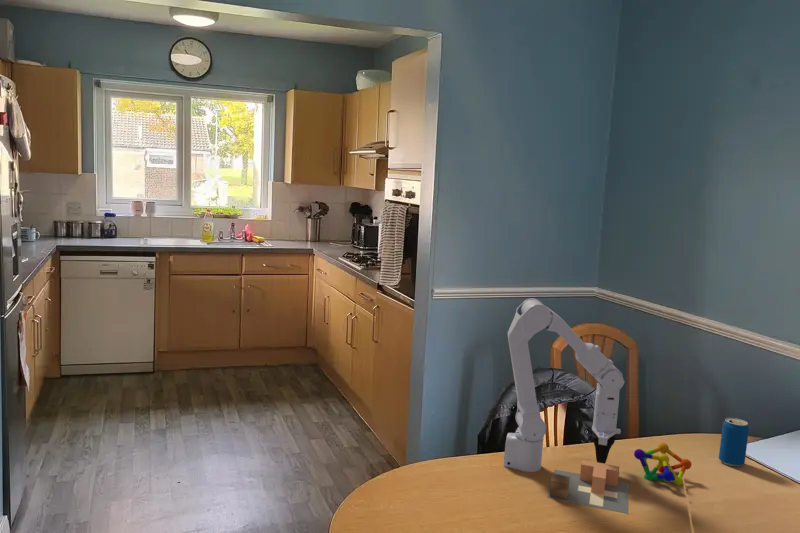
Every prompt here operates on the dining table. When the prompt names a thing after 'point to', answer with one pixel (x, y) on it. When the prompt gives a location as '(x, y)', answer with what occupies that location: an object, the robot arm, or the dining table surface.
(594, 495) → the board
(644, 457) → the decorative model
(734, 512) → the dining table surface
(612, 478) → the t block
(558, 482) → the walnut cube
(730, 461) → the beverage can
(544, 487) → the dining table surface
